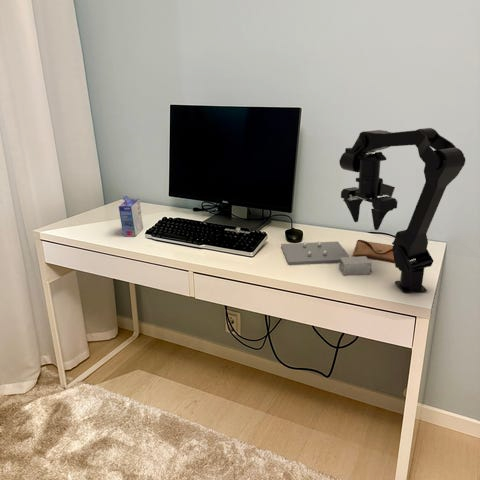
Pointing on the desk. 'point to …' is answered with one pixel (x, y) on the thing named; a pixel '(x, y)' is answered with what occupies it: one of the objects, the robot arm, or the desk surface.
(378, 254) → the sunglasses case
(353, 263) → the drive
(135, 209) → the ink cartridge box
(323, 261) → the pin tray
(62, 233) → the desk surface
